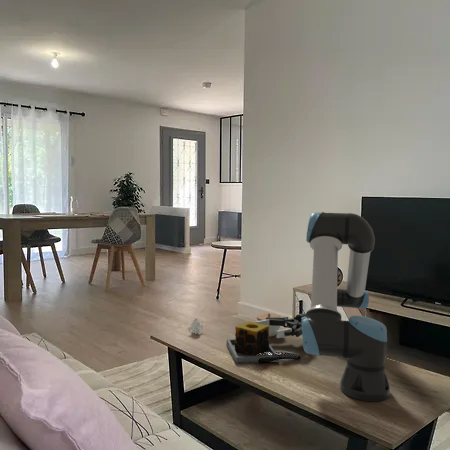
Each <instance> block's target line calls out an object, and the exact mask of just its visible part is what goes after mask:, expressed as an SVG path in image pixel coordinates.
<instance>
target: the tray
mask: <svg viewBox="0 0 450 450" xmlns="http://www.w3.org/2000/svg"><path fill="white" fill-rule="evenodd" d="M226 347H227V349H228V351H229V353H230V355H231V358H232V359H233V361H234V363H235V365H247V364H260V363H259V362H258V360H259V359H260V358H265V357H272V355H261V356H250V355H245V354H242V353H238V352H236V351H235V338H227V339H226ZM266 352H272V353H277V352H276V350H275V349H274V347H272V346H271V344H270V343H269V350H268V351H266ZM276 361H278V362H279V359H278V360H276ZM276 361H275V362H276ZM276 363H277V362H276Z"/></svg>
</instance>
